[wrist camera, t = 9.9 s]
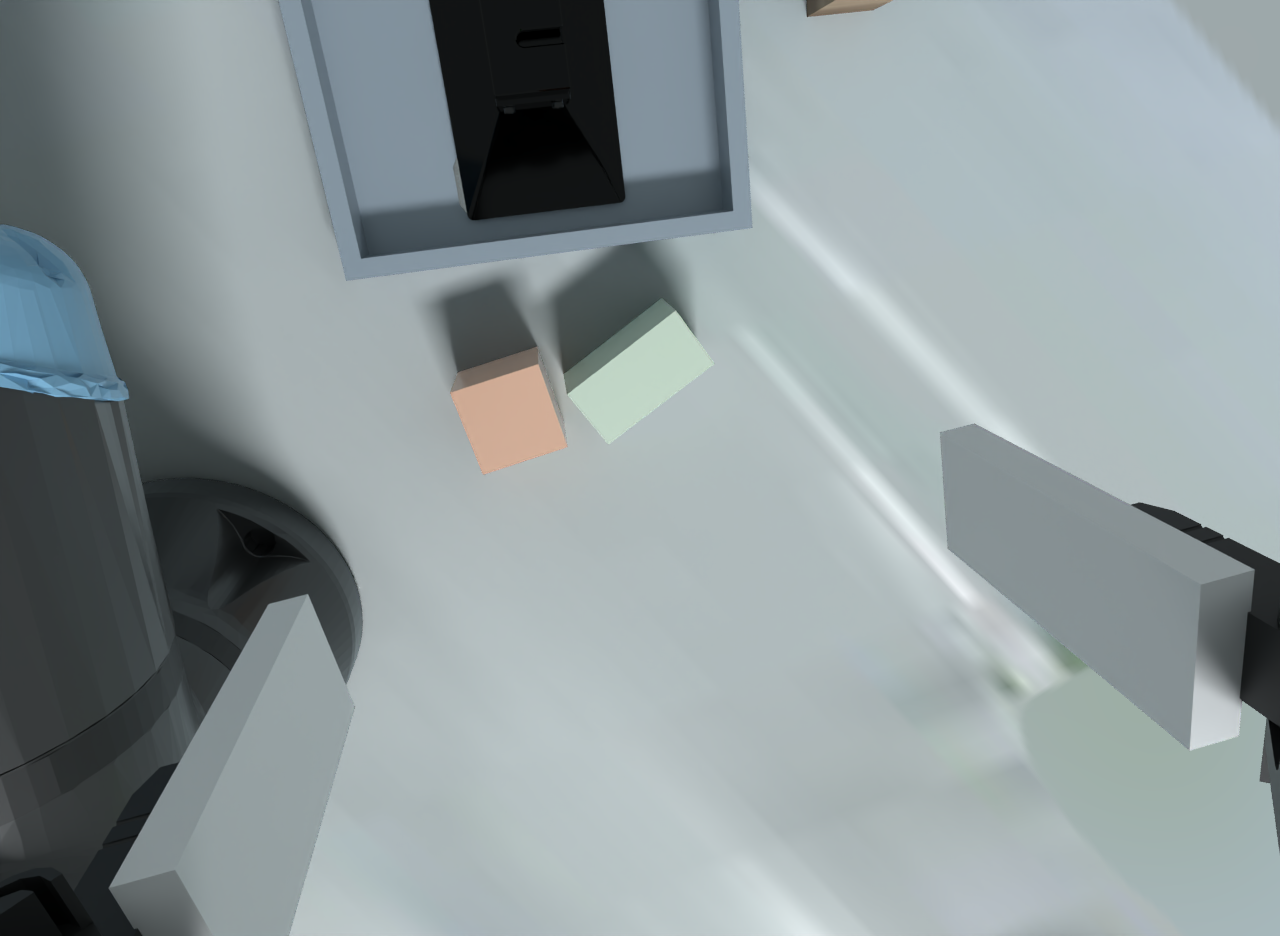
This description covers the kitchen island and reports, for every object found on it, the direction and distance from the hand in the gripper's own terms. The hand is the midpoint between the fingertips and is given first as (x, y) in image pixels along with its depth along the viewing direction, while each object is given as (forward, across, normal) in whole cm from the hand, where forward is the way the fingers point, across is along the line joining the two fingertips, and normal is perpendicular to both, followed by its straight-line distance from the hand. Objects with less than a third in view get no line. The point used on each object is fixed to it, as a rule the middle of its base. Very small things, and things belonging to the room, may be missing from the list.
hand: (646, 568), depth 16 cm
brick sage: (+24, +3, -2) cm, 24 cm away
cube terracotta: (+24, -3, -2) cm, 24 cm away
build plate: (+23, +1, +12) cm, 26 cm away
